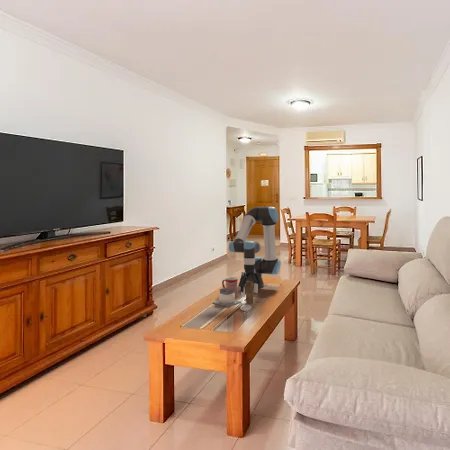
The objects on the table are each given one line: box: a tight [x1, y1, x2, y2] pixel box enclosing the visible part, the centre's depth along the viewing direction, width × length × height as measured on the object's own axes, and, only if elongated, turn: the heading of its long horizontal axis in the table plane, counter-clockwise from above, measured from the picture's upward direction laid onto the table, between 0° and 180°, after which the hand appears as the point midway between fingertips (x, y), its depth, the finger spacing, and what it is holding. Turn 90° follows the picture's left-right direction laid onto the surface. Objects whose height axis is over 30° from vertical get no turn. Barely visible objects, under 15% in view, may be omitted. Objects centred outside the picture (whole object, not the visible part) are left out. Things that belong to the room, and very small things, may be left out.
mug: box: [221, 276, 239, 298], centre depth 308 cm, size 13×9×14 cm
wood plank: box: [245, 281, 254, 305], centre depth 288 cm, size 3×4×15 cm
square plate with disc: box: [212, 286, 242, 308], centre depth 290 cm, size 14×14×10 cm
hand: (249, 294), depth 289 cm, fingers open, 13 cm apart
